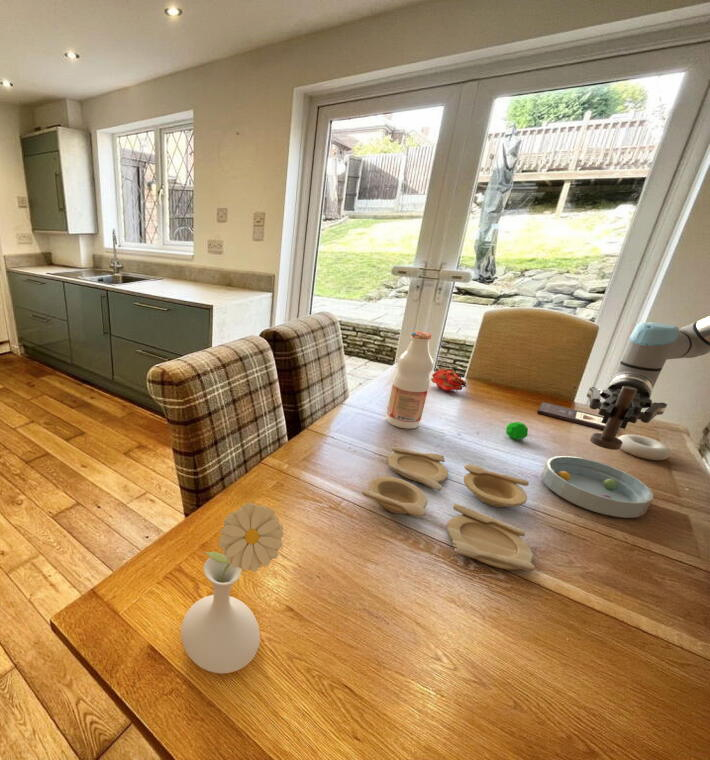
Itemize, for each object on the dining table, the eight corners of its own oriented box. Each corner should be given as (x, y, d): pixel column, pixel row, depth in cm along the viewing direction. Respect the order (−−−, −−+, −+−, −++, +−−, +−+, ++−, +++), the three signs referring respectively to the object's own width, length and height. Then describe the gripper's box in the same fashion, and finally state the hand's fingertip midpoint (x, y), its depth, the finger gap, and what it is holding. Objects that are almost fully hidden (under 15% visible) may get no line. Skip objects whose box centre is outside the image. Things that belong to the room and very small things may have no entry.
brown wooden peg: (621, 444, 90) (647, 388, 84) (618, 452, 87) (645, 394, 81) (591, 436, 93) (615, 381, 88) (588, 443, 90) (612, 387, 85)
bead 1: (569, 481, 92) (573, 472, 91) (567, 485, 91) (571, 476, 90) (556, 476, 94) (559, 467, 93) (554, 480, 92) (557, 471, 91)
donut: (626, 440, 111) (605, 446, 108) (631, 429, 110) (610, 435, 107) (675, 459, 103) (654, 466, 99) (682, 447, 101) (661, 454, 98)
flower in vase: (172, 672, 53) (167, 527, 44) (190, 598, 64) (189, 468, 54) (269, 692, 51) (286, 543, 42) (271, 612, 61) (285, 479, 52)
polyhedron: (529, 442, 109) (535, 427, 108) (511, 442, 110) (516, 427, 108) (516, 433, 114) (521, 419, 112) (499, 433, 114) (504, 418, 112)
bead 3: (611, 505, 84) (615, 496, 83) (609, 510, 83) (614, 501, 82) (596, 499, 86) (600, 490, 85) (594, 504, 84) (598, 495, 83)
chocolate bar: (542, 401, 132) (616, 419, 120) (541, 404, 132) (615, 422, 121) (538, 410, 126) (616, 430, 114) (537, 412, 127) (615, 432, 115)
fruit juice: (378, 417, 123) (395, 330, 113) (404, 413, 126) (422, 328, 115) (399, 431, 115) (420, 338, 104) (426, 427, 117) (449, 336, 107)
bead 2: (616, 489, 89) (620, 480, 88) (615, 493, 88) (619, 484, 87) (601, 484, 91) (605, 475, 90) (600, 488, 90) (604, 479, 89)
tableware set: (531, 593, 65) (539, 574, 63) (352, 517, 81) (355, 501, 80) (529, 487, 91) (534, 472, 89) (394, 446, 107) (396, 433, 106)
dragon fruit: (427, 387, 150) (459, 402, 142) (422, 379, 144) (454, 394, 136) (441, 368, 149) (474, 383, 141) (436, 360, 144) (470, 374, 135)
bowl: (646, 496, 88) (655, 480, 86) (640, 533, 78) (650, 515, 76) (549, 463, 100) (555, 448, 98) (532, 490, 90) (538, 474, 88)
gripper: (666, 416, 94) (660, 450, 80) (582, 396, 104) (562, 422, 90) (681, 387, 91) (677, 417, 77) (592, 369, 102) (574, 392, 88)
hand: (615, 420), depth 84 cm, fingers closed on brown wooden peg, 2 cm apart
